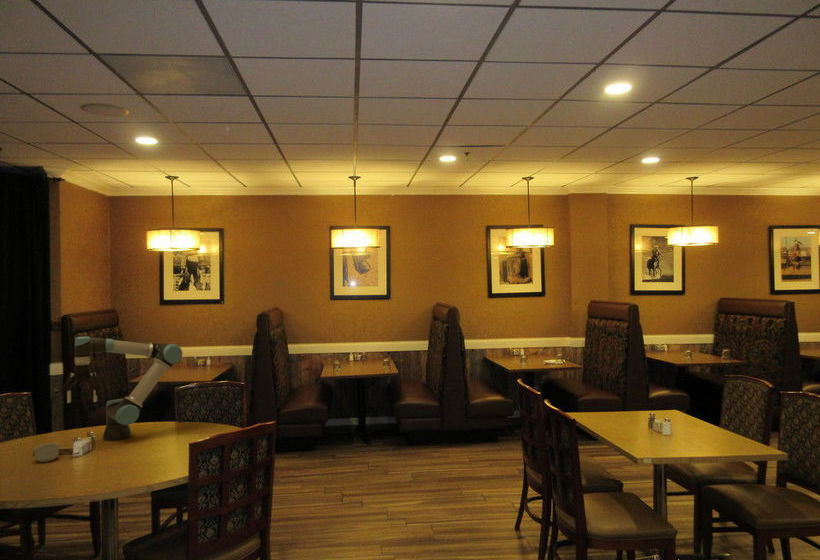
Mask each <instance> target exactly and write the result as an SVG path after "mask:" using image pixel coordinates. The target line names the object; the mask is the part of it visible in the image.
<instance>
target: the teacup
mask: <svg viewBox="0 0 820 560" xmlns="http://www.w3.org/2000/svg"><path fill="white" fill-rule="evenodd" d="M59 445H60V444H59V443H58V441H56V442H55V441H54V442H50V443H49V442H47V443H44V444H41V445H40V444H39V445H37V446H35V447H33V450H35V456H34V458H35V460H36V461H38V463H39V462H40V463H47V462H51V461H54V460H55V459H56V458H57V457H59V455H58V454H59V448H60V447H59Z"/></svg>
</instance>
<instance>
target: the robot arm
mask: <svg viewBox="0 0 820 560" xmlns="http://www.w3.org/2000/svg"><path fill="white" fill-rule="evenodd" d="M74 339H75V340H74V364H75V365H74V373H73V372H69V373H68V374H67V378H66V380H65V382H64V383H63V386H62V388H61V390H62V391H65V397H66V399H67V401H66V403H67V404H69V403H71V402H72V390H71V389H72V387H73V386H75V384H76V383H77V382H81V381H82V382H85V381H86V382H88V384H90V386H91V387H93V389H94V390H93V403H95V402H96V403H97V402H98V396H100V395H99V394H100V389H103V385H102V383H101V381H100V379H99V377H98V375H97V371H95V372H91V354H94V353H95V354H96V353H113V354H124V355H125V354H126V355H133V356H140V357H141V356H142V357H143V356H144V357H146V358H148V359H153V363H152V365H151V366H150V367H149V369H148V370H147V371H146V373H145V374H144V375H143V377H142V378H141V379H140V380H139V382H138V383H137V385H136V386H135V387H134V389H133V390H132V391H131V393H130V394H129V395H128V396H125V397H124V398H118V399H116V398H115V399H111V400H107V401H106V406H105V408H106V409H105V410H106V412H105V415H106V417H105V418H106V424H105V428H104V432H103V434H102V440H103V441H110V442H111V441H119V440H125V439H128V438H130V437H132V431H131V428H130V425H132V424H133V423H135V422H136V421H137V420H138V418H139V416H140V411H141V410H142V408H143V402H144V401H145V400H146V399H147V398H148V396H149V395H150V393H151V392H152V391H153V389H154V388H155V386H156V385H157V384H158V382H159V380H161V378H162V377H163V376H164V374H165V373H166V371H168V370H170V369H172V368H173V366H174V365H175V364H177V363H179V362H180V361H181V360H182V358H183V350H182V348H181V347H180V346H179V345H177V344H175V343H169V342H164V343H163V342H149V343H143V342H141V343H140V342H133V341H125V340H117V339H112V338H100V337H91V336H77V337H76V338H74ZM73 377H74V379H73V380H72V378H73ZM91 377H92V378H93V379H92V378H91ZM71 380H72V382H71ZM70 382H71V383H70Z"/></svg>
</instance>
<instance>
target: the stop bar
mask: <svg viewBox="0 0 820 560" xmlns="http://www.w3.org/2000/svg"><path fill="white" fill-rule="evenodd" d="M73 447H74V446H70V447H69V446H67V447H59V454H58V456H67V455H73V454H72V453H73ZM32 457H35V450H34V449H33V450H32Z"/></svg>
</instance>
